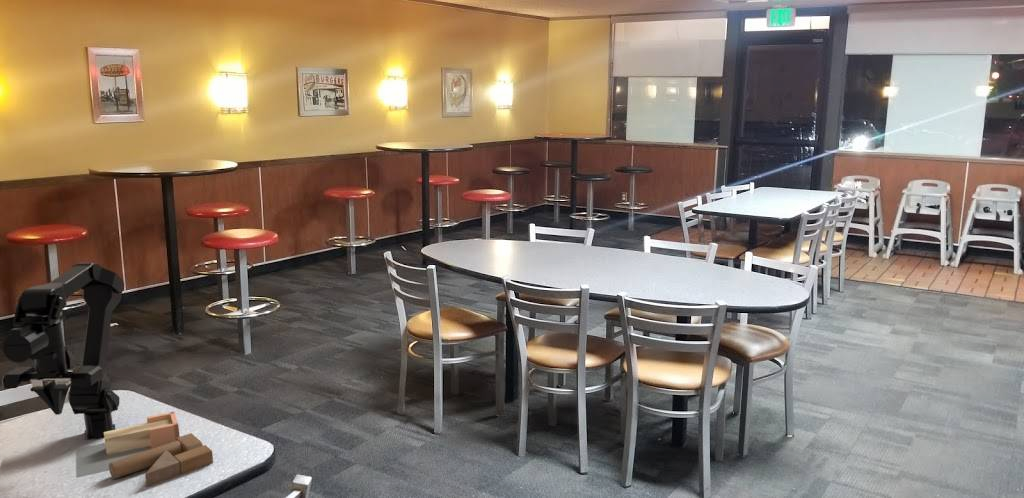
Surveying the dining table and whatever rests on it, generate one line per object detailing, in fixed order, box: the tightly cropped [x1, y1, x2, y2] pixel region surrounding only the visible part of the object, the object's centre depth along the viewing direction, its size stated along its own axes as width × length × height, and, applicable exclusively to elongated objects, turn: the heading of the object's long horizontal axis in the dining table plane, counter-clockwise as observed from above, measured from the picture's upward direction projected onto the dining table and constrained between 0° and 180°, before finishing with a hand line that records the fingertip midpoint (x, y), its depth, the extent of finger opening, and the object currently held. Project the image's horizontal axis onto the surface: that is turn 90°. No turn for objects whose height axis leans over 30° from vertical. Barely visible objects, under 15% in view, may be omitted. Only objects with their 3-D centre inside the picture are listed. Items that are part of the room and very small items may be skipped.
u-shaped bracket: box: [146, 411, 181, 449], centre depth 180 cm, size 8×6×5 cm
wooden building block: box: [103, 418, 172, 455], centre depth 178 cm, size 4×14×4 cm, turn 120°
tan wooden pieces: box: [108, 432, 214, 488], centre depth 166 cm, size 4×11×18 cm
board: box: [75, 442, 152, 478], centre depth 175 cm, size 15×21×1 cm
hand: (58, 413), depth 168 cm, fingers closed
